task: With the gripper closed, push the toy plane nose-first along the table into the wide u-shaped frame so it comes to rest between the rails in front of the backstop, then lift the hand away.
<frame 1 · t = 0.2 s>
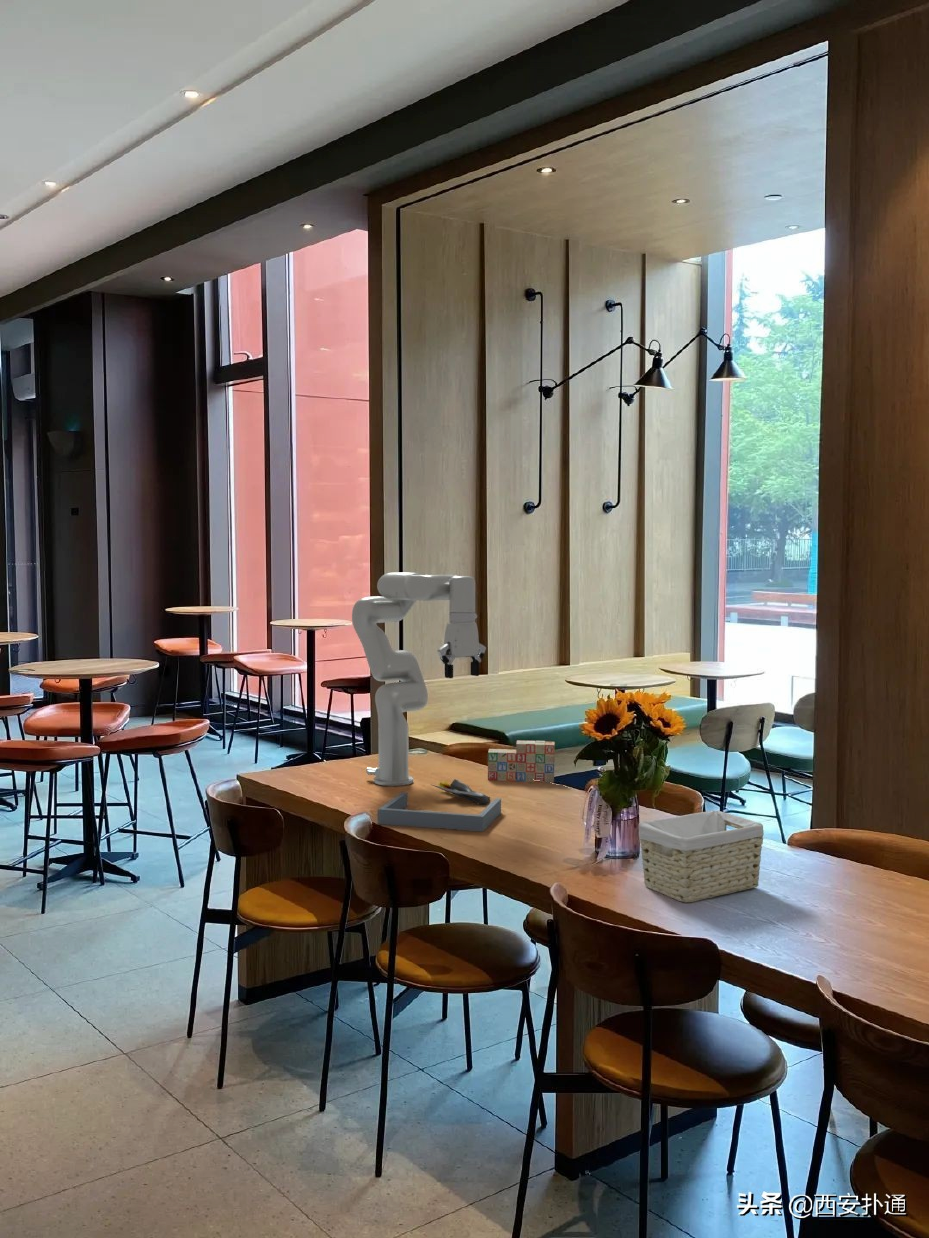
hand: (462, 676, 321), 37 cm above the table, tool pointing down, fingers open, 9 cm apart
storage basket: (699, 888, 243), on the table
stack of blocks: (521, 780, 354), on the table
u-shaped frame: (442, 816, 304), on the table
toy plane: (464, 799, 327), on the table
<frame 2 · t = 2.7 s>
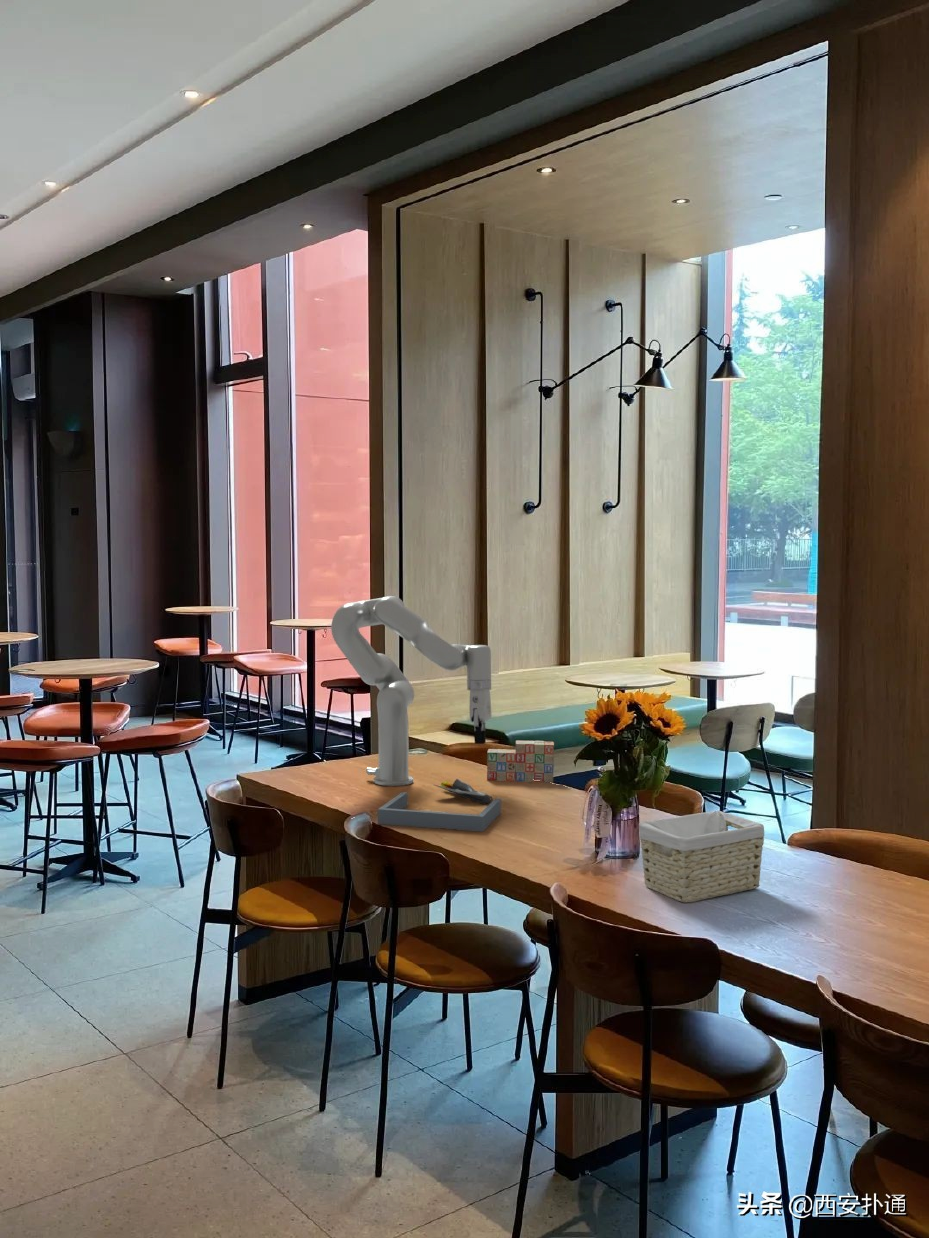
hand: (480, 743, 342), 14 cm above the table, tool pointing down, fingers closed
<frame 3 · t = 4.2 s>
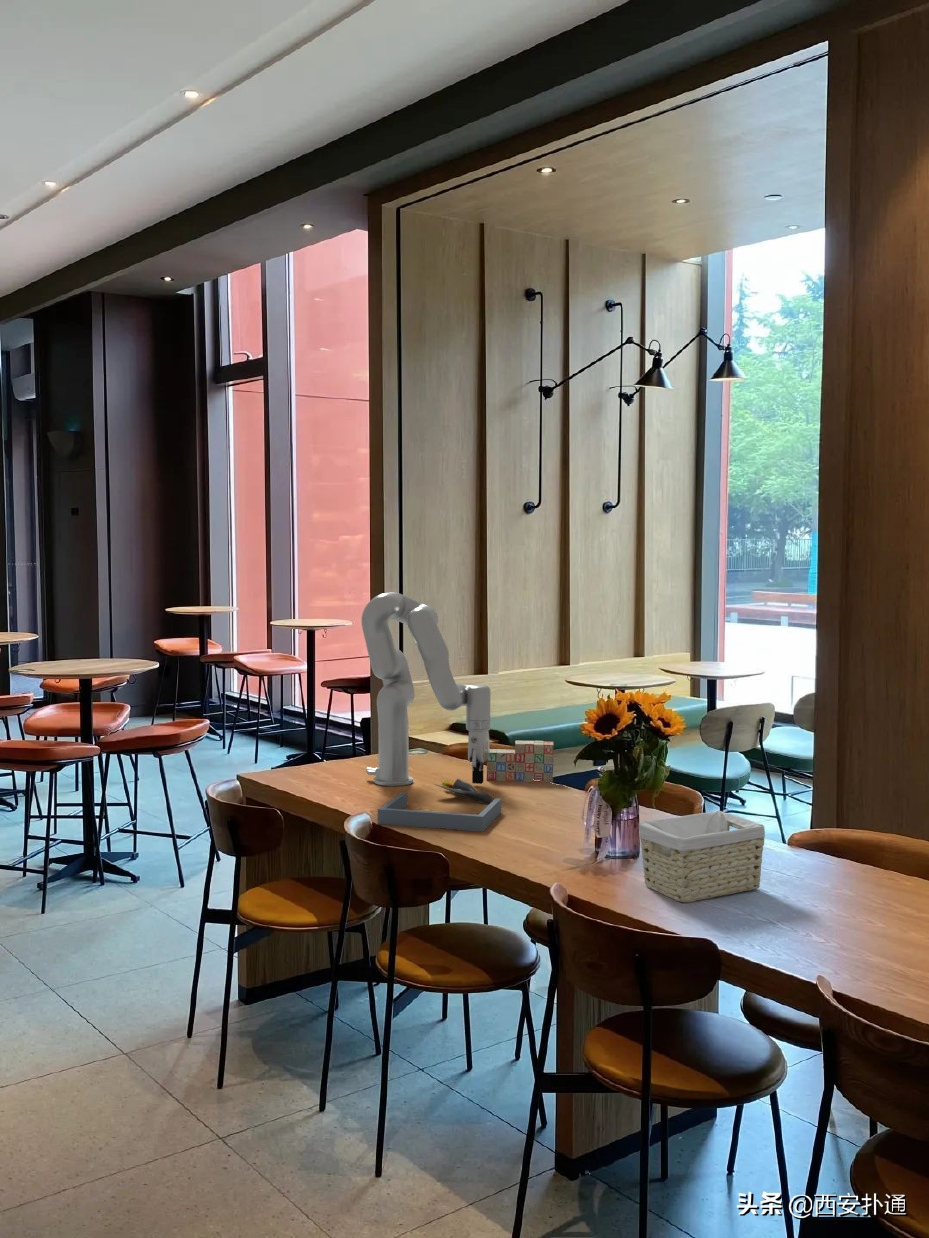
hand: (477, 782, 343), 1 cm above the table, tool pointing down, fingers closed
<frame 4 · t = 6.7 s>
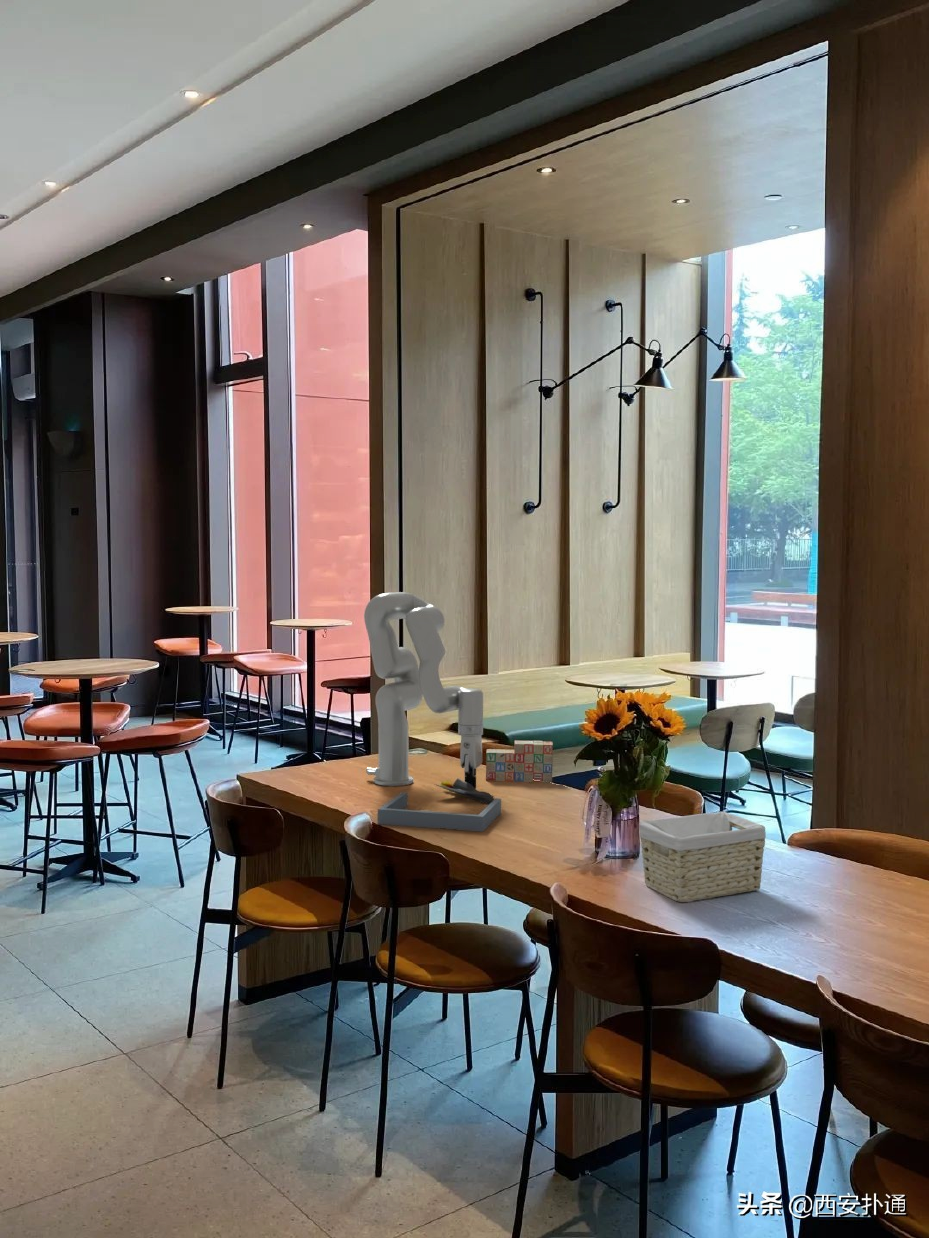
hand: (470, 789, 334), 1 cm above the table, tool pointing down, fingers closed
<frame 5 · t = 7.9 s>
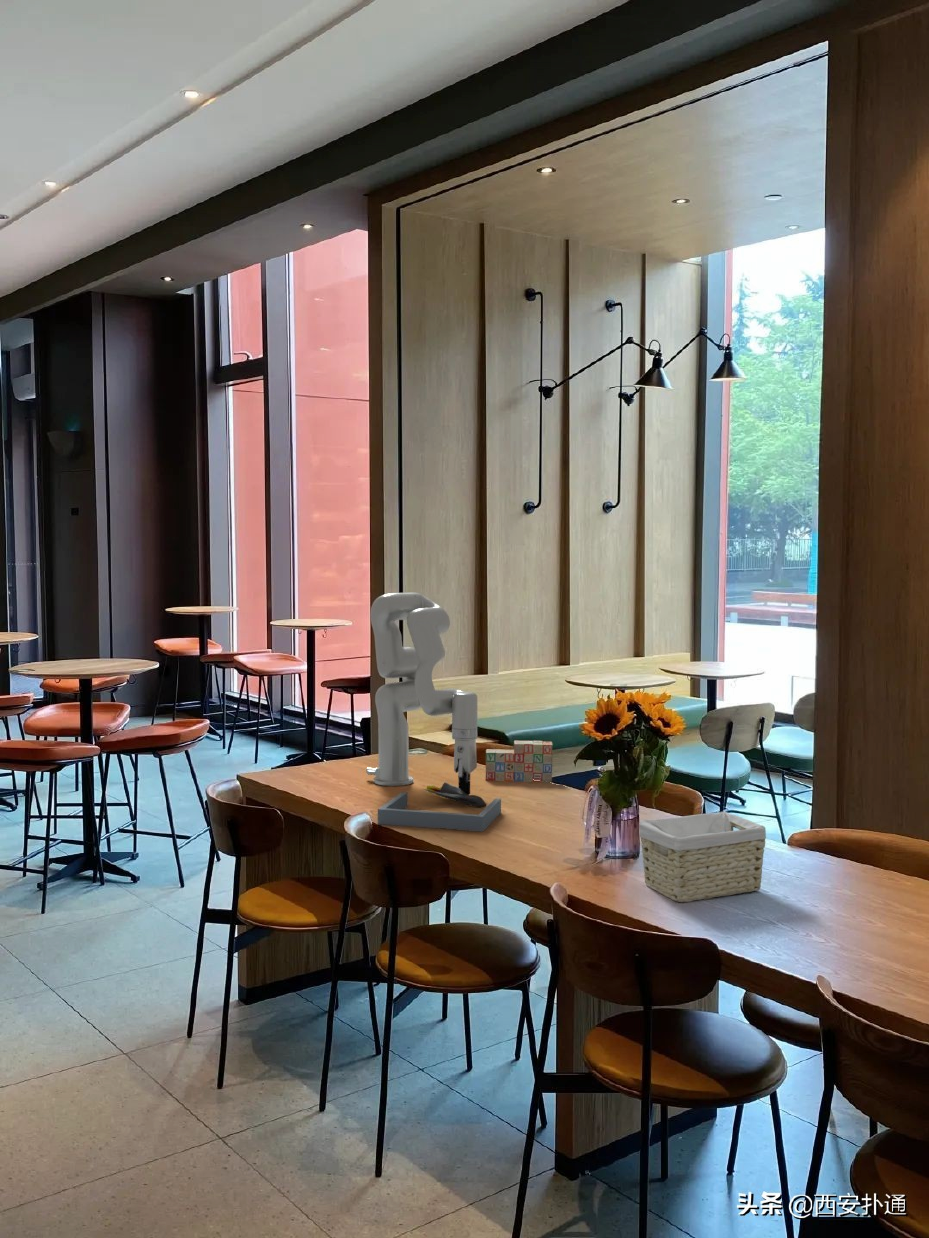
hand: (464, 794, 327), 1 cm above the table, tool pointing down, fingers closed
toy plane: (456, 802, 323), on the table
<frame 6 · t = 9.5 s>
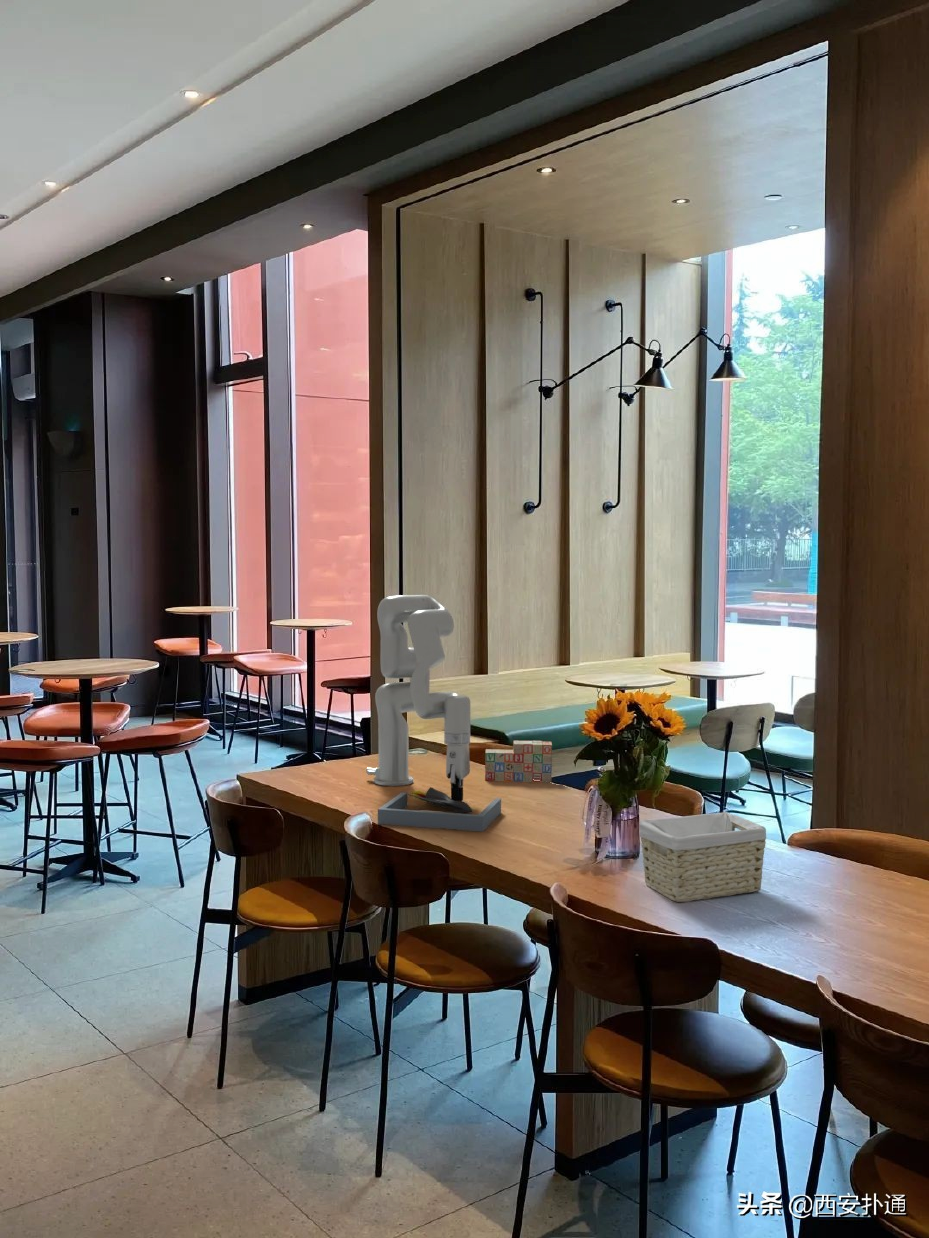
hand: (457, 800, 319), 1 cm above the table, tool pointing down, fingers closed
toy plane: (441, 808, 316), on the table, touching gripper
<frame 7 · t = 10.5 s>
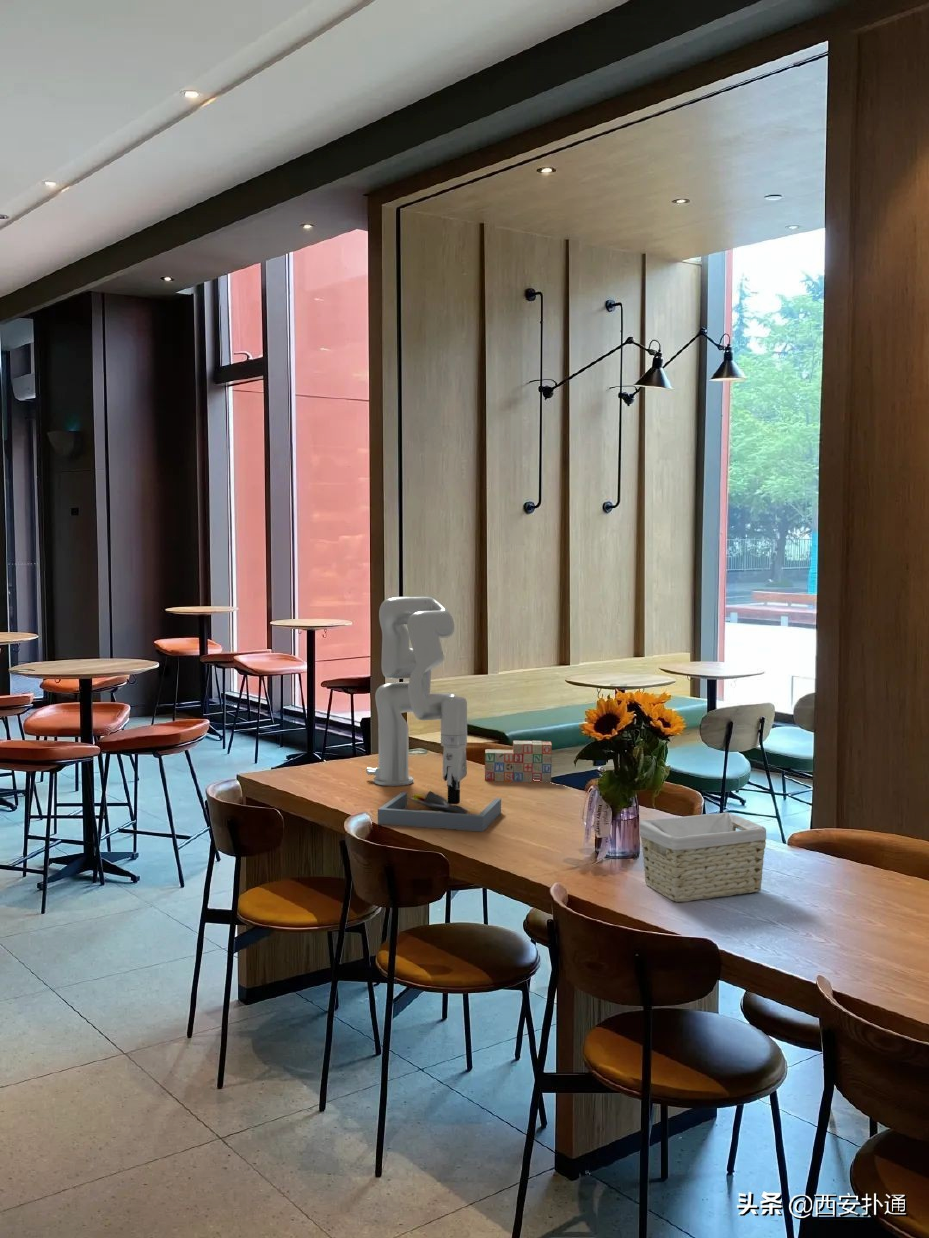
hand: (453, 803, 315), 1 cm above the table, tool pointing down, fingers closed
toy plane: (439, 812, 312), on the table
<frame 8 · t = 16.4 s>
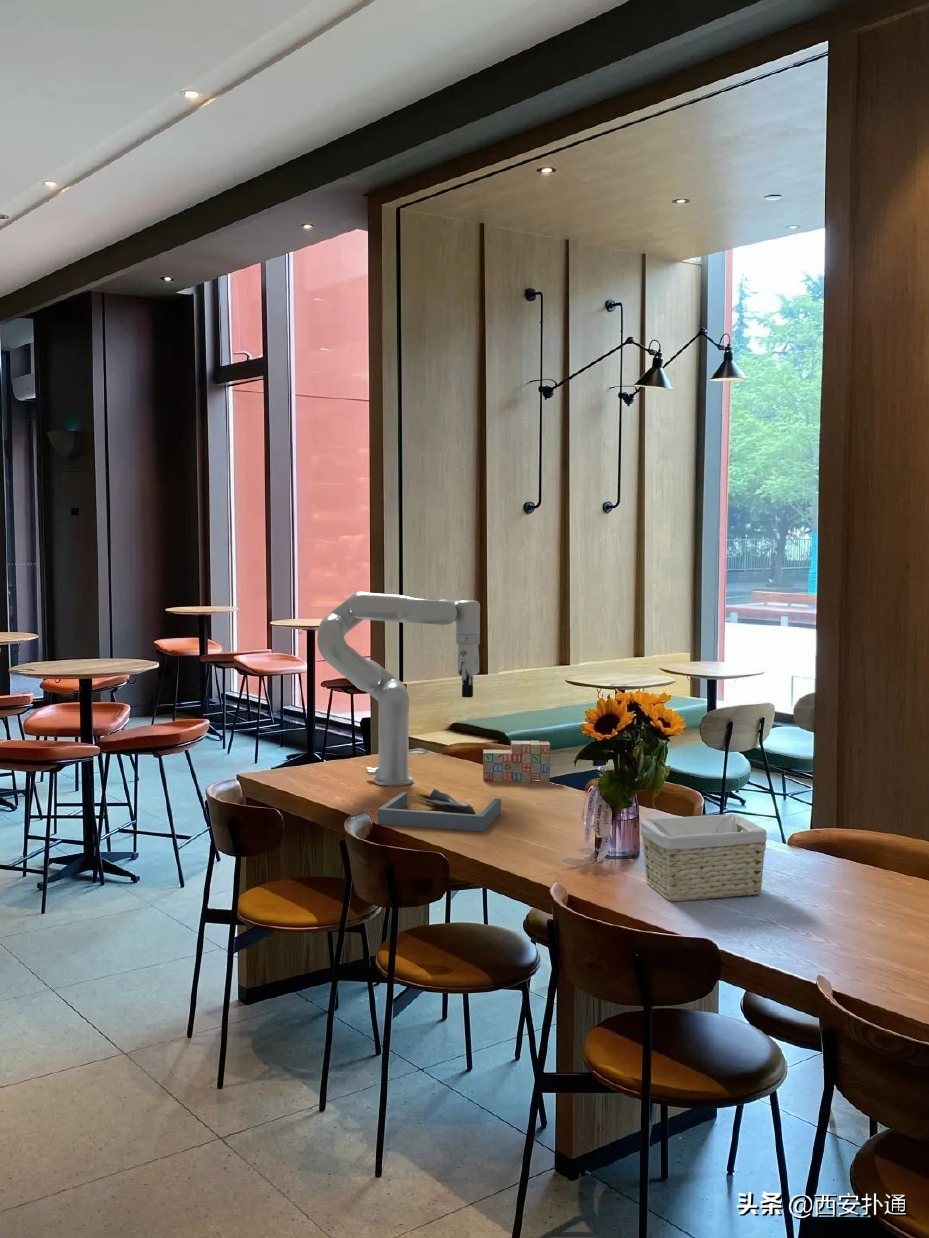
hand: (467, 696, 348), 27 cm above the table, tool pointing down, fingers closed
toy plane: (445, 810, 314), on the table
at the end: toy plane inside the target area (8.0 cm from its centre), on the table; toy plane moved 13.8 cm from its start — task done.
